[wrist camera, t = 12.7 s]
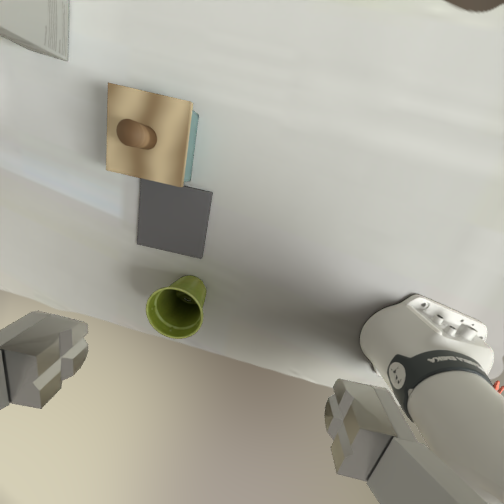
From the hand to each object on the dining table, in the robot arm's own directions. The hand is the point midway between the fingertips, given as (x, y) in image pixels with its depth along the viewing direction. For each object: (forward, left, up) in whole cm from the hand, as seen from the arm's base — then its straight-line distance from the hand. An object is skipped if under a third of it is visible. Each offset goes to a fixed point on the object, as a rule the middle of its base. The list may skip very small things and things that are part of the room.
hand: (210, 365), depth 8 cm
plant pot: (+9, +18, -35) cm, 41 cm away
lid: (+17, -7, -30) cm, 35 cm away
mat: (+14, +5, -35) cm, 38 cm away
